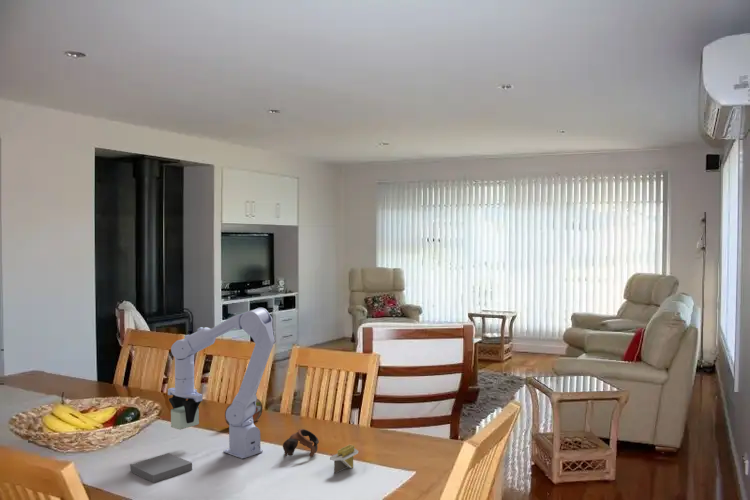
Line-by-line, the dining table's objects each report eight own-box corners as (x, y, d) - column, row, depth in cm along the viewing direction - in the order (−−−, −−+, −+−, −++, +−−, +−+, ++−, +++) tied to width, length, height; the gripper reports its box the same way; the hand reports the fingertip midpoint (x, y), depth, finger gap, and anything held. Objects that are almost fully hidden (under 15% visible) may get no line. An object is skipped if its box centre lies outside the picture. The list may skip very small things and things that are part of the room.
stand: (192, 469, 176) (192, 462, 176) (153, 482, 167) (153, 475, 167) (168, 459, 184) (168, 453, 184) (130, 471, 174) (130, 464, 174)
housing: (198, 424, 195) (198, 406, 195) (180, 429, 189) (180, 411, 189) (189, 421, 198) (189, 404, 198) (171, 427, 192) (170, 409, 192)
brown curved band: (294, 448, 195) (307, 426, 195) (313, 467, 190) (327, 445, 189) (269, 449, 185) (283, 426, 184) (289, 470, 180) (304, 446, 179)
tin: (229, 430, 211) (228, 405, 211) (223, 428, 213) (223, 403, 213) (263, 419, 223) (263, 396, 223) (257, 417, 225) (257, 394, 225)
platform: (380, 465, 180) (380, 443, 180) (343, 486, 165) (343, 462, 165) (347, 457, 187) (347, 435, 187) (308, 477, 172) (308, 453, 172)
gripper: (210, 378, 192) (210, 421, 192) (180, 372, 201) (181, 413, 201) (191, 382, 186) (191, 427, 187) (161, 376, 195) (162, 419, 195)
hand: (185, 421), depth 193 cm, fingers closed on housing, 4 cm apart
